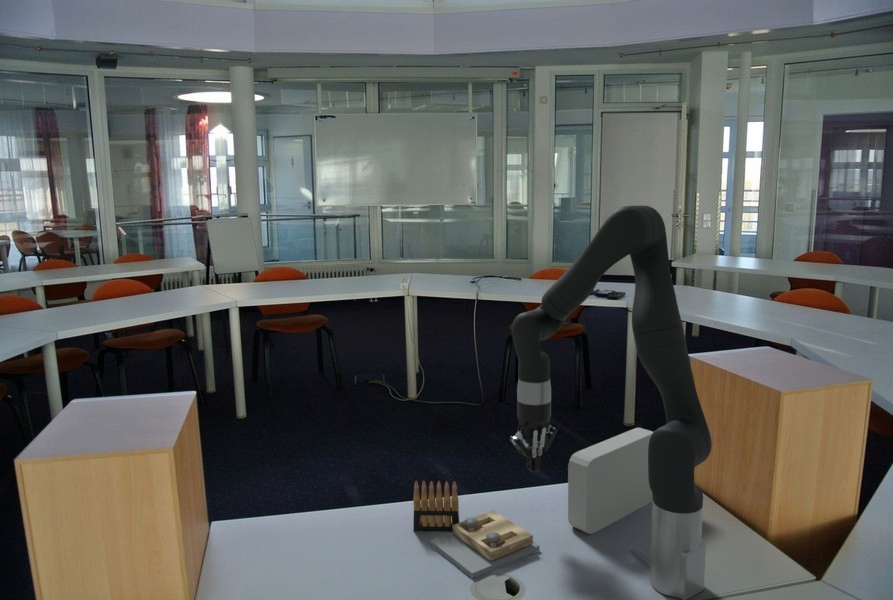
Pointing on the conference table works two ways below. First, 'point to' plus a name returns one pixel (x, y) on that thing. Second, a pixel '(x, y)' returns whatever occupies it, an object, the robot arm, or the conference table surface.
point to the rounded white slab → (609, 481)
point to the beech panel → (496, 523)
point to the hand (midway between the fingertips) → (533, 470)
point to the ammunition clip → (435, 508)
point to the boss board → (476, 552)
